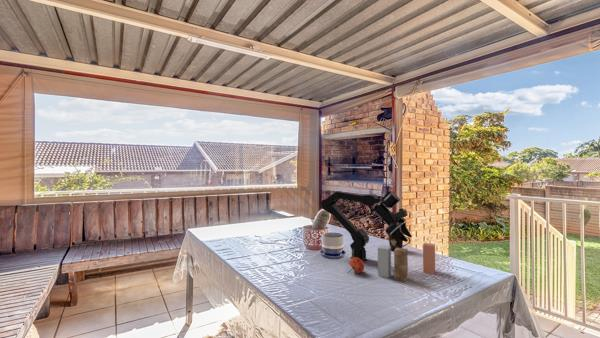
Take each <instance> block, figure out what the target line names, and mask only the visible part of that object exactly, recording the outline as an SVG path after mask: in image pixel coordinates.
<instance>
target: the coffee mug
mask: <svg viewBox="0 0 600 338" xmlns="http://www.w3.org/2000/svg"><path fill="white" fill-rule="evenodd" d="M390 234H392V232H391V233H390ZM390 234H389V235H388V234H387V237H388V244H389V245H388V246H389V247H391V252H392V251H393V253H394V250H395V249H396V248H404V247H405V246H408V245H409V244H410V243H411V238H410V237H408V236H405V237H406V238H407V240H408V241H407V242H406V244H404V243H403V242H404V241H403V240H401V239H398V238H396V237H394V236H391V235H390Z"/></svg>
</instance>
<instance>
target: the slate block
mask: <svg viewBox="0 0 600 338" xmlns="http://www.w3.org/2000/svg"><path fill="white" fill-rule="evenodd" d="M391 275H392V251H391V247H390V245H381V244H380V246H378V247H377V276H378V277H381V278H386V279H389V278H390V277H391Z"/></svg>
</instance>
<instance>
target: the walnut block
mask: <svg viewBox="0 0 600 338" xmlns="http://www.w3.org/2000/svg"><path fill="white" fill-rule="evenodd" d="M393 256H394V257H393V258H394V259H393V260H394V263H393V264H394V267H393V268H394V271H393V272H394V273H393V274H394V275H393V276H394V280H395V281H400V282H401V281H402V282H406V281H407V280H408V278H409V277H408V276H409V274H408V272H409V271H408V262H409V261H408V248H404V247H402V248H396V249H395V250H394V252H393Z"/></svg>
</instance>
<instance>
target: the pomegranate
mask: <svg viewBox="0 0 600 338" xmlns="http://www.w3.org/2000/svg"><path fill="white" fill-rule="evenodd" d="M363 260H364V258H363V259H360V258H357V257H353V258H352V259H351V258H350V259H349V263H348V264H349V266H350V267H351V269H350V270H349V271H348V272H347V274H349V273H350V272H351V271H352V270H353V271H354V272H356V274H357V275H358V274H361V273H363V271H364V270H365V263H364V261H363Z"/></svg>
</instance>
